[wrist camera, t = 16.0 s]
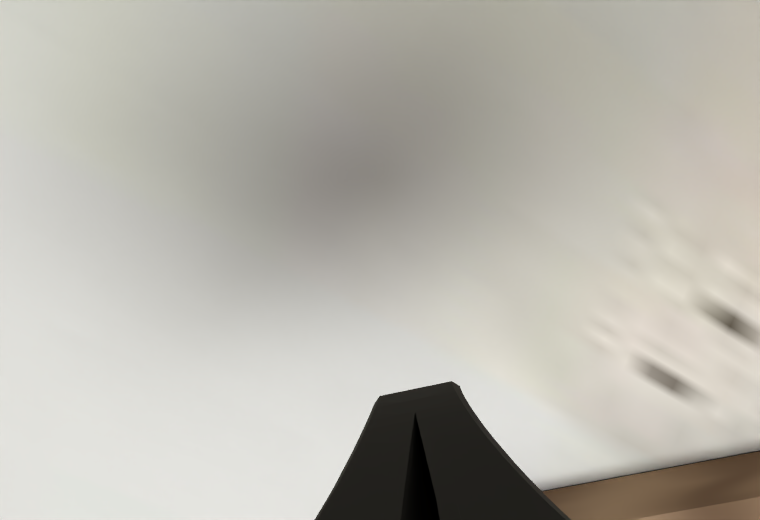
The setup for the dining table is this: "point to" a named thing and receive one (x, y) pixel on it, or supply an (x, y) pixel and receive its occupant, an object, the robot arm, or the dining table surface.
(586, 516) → the brown board with cutouts
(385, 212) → the dining table surface
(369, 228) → the dining table surface
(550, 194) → the dining table surface
